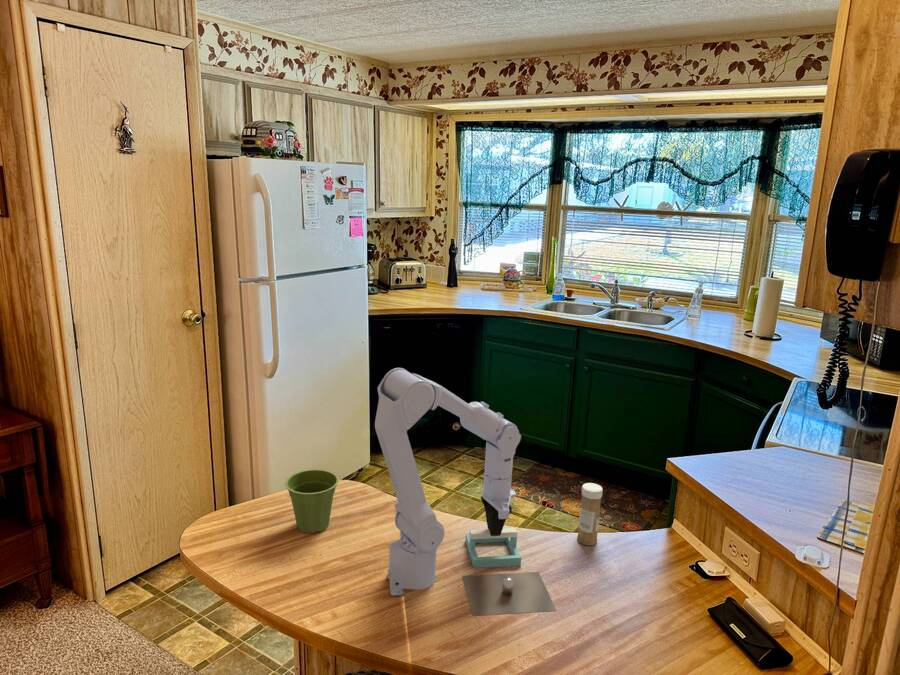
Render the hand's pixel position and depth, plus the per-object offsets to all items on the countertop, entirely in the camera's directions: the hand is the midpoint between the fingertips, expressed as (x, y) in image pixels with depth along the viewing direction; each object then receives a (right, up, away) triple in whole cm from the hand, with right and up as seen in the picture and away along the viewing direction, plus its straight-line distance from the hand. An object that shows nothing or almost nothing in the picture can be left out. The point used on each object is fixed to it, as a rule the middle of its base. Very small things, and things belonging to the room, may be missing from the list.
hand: (494, 532), depth 131 cm
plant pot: (-41, -2, +10) cm, 42 cm away
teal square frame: (0, -5, +1) cm, 5 cm away
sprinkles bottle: (+22, -5, +9) cm, 24 cm away
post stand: (+2, -9, -12) cm, 15 cm away
